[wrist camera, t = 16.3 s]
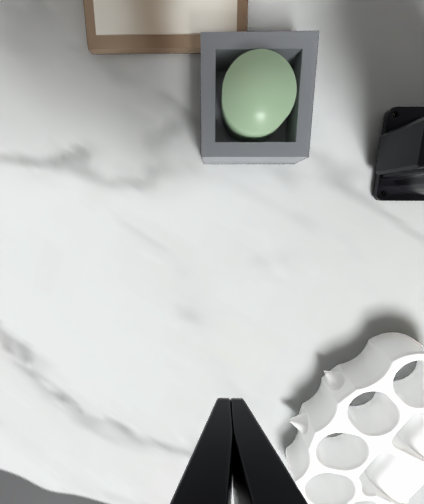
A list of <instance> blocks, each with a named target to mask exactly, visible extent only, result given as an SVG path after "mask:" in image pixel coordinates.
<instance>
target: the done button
mask: <svg viewBox="0 0 424 504" xmlns="http://www.w3.org/2000/svg"><path fill="white" fill-rule="evenodd" d="M296 93H297V85H296V78H295V75H294V72H293V70H292V68H291V66H290V64H289V63H288V62H287V60H286V59H285V58H284V57H282V56H281V55H280V54H278V53H276V52H274V51H272V50H268V49H255V50H251V51H248V52H246V53H244V54H242V55H241V56H239V57H238V58H237V59H236V60H235V61H234V62H233V63H232V64H231V66H230V67H229V69H228V71H227V73H226V75H225V78H224V81H223V86H222V103H221V116H222V121H223V124H224V126H225V128H226V130H227V131H228V133H229V134H230V135H231V136H232V137H233V138H235V139H236V140H238V141H240V142H262V141H264V140H266V139H267V138H269V137H270V136H271V135H272V134H273V133H274V132H275V131H276V130H277V128H278V127H279V126H280V125H281V124H282V122H283V121H284V120H285V119H286V118H287V116H288V115H289V113H290V112H291V110H292V108H293V105H294V103H295V99H296Z"/></svg>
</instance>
